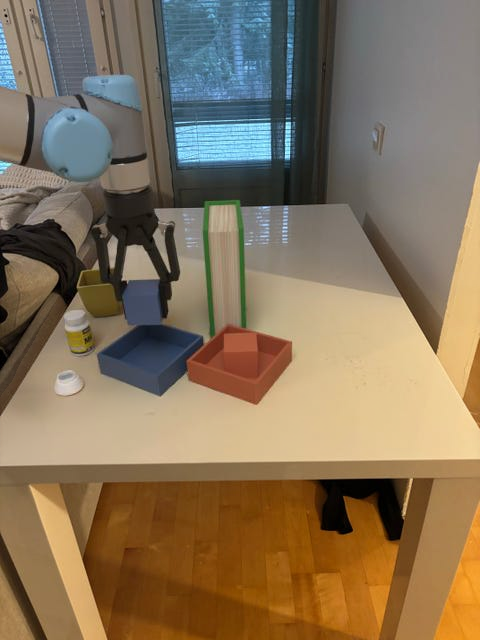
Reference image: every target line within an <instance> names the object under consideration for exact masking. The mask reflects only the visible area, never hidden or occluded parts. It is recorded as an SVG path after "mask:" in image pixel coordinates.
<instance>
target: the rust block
mask: <svg viewBox="0 0 480 640" xmlns="http://www.w3.org/2000/svg"><path fill="white" fill-rule="evenodd" d="M224 368H225V372H228V373H231V374H234V375H237V376H240V377H243V378H258V347H257V336H256V333H227V334H224Z"/></svg>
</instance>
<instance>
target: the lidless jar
mask: <svg viewBox="0 0 480 640" xmlns="http://www.w3.org/2000/svg"><path fill="white" fill-rule="evenodd" d="M84 385H85V383H84V380H83V378H81V377H80V376H79V375H78V373H76V372H75V371H74V370H70V369H69V370H68V369H67V370H64V371H61V372H59V373H58V375H57V376H56V379H55V383H54V387H53V389H54V390H53V391H54V392H55V393H56V395H59V396H67V397H68V396H73V395H74V394H76V393H79V391H81V390H82V389H83V388H84Z"/></svg>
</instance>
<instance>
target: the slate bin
mask: <svg viewBox="0 0 480 640" xmlns="http://www.w3.org/2000/svg"><path fill="white" fill-rule="evenodd" d="M204 340H205V339H204V335H201V334H198V333H195V332H192V331H188V330H185V329H181V328H178V327H175V326H171V325H169V324H166V323H162V325H134V327H133V328H131V329H130V330H128V331H127V332H126V333H124V334H122V335H121V336H120V337H118V338H117V339H116V340H114V341H112V342H111V343H110V344H108V345H107V346H106V347H104V348H103V349H102V350H100V351H99V352H97V353H96V358H97V362H98V367H99V372H100V375H101V374H102V375H104V376H106V377H109V378H111V379H114V380H116V381H119V382H122V383H123V384H127V385H129V386H132V387H135V388H137V389H140V390H143V391H145V392H147V393H150V394H153V395H155V396H158V397H162V396H163V395H164V394H165V393H166V392H167V391H168V390H169V389H170V388H171V387H173V385H175V383H176V382H178V380H180V379H181V378H182V377H183V376H184V375H185V374H186V373H188V370H187V360H188V359H189V358H190V357H191V356H192V355H193V354H195V353H196V352H197V351H198V350H199V349H200V348H201V347H202V346H203V345H205V341H204Z"/></svg>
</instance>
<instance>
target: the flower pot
mask: <svg viewBox="0 0 480 640" xmlns="http://www.w3.org/2000/svg"><path fill="white" fill-rule="evenodd" d="M110 269H111V274H113V273H114V267H110ZM76 290H77V293H78V296H79V297H80V300H81V302H82V304H83V307H84V308H85V310H86V311H87V312H88V313H89V314H90V315H92V316H93V318H100V317H109V316H116V315H118V313H119V310H120V304H121V302H117V300H116V297H115V292H114V287H113V285H111V284H109V283H106V284H104V283H102V282H101V279H100V271H99V268H98V269H86V270H81V272H80V275H79V278H78V281H77V285H76Z"/></svg>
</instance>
